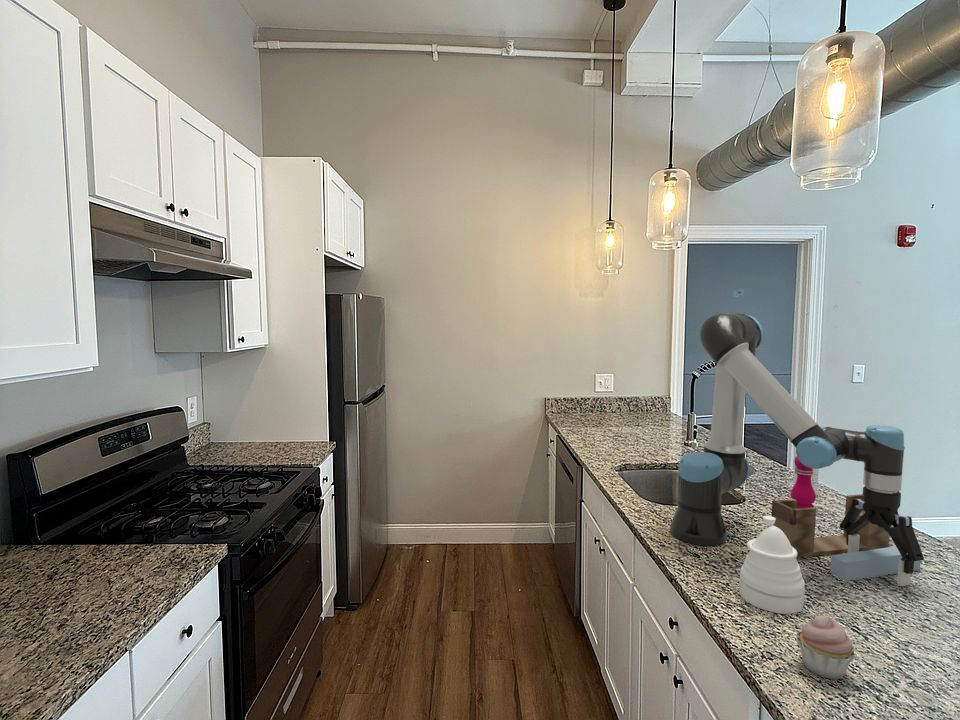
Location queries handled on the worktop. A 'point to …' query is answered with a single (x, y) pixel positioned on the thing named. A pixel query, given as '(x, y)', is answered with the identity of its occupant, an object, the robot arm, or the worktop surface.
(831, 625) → the cupcake
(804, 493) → the pepper mill
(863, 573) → the rail
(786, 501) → the bracket
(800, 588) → the honey pot
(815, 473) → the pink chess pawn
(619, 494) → the worktop surface
